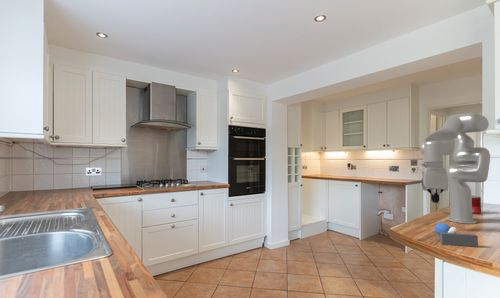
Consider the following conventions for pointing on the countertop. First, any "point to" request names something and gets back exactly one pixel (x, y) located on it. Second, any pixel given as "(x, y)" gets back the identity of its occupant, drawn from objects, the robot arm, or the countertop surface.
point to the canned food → (476, 204)
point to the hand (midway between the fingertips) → (435, 202)
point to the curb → (459, 239)
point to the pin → (452, 230)
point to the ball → (442, 228)
